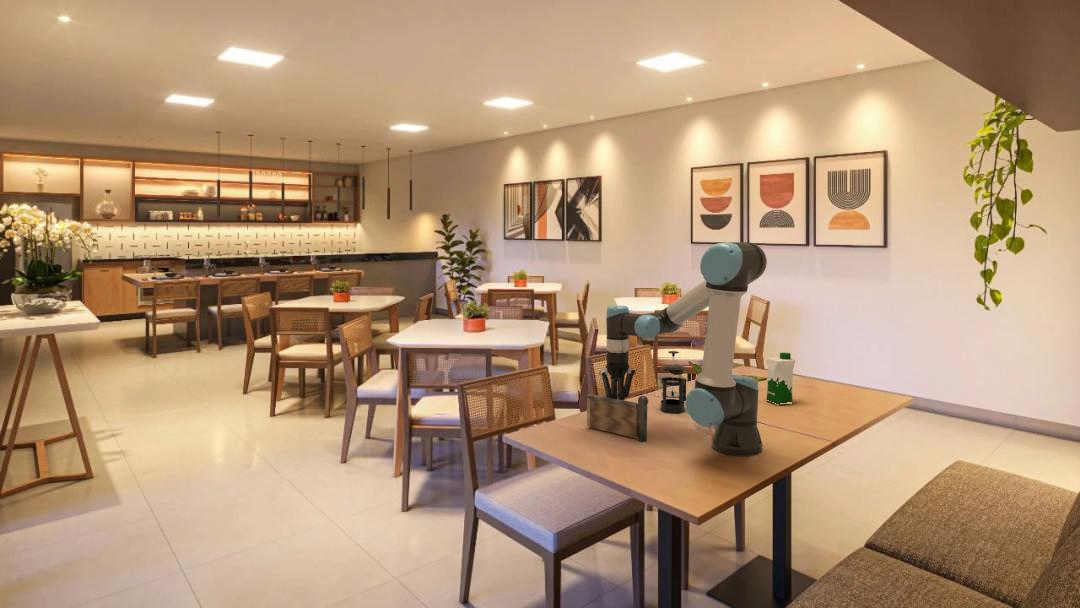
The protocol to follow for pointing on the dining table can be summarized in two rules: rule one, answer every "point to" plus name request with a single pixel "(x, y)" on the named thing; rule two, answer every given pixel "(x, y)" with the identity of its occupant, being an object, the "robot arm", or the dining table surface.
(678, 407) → the french press
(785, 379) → the milk carton
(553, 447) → the dining table surface
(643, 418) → the gate post
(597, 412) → the gate
